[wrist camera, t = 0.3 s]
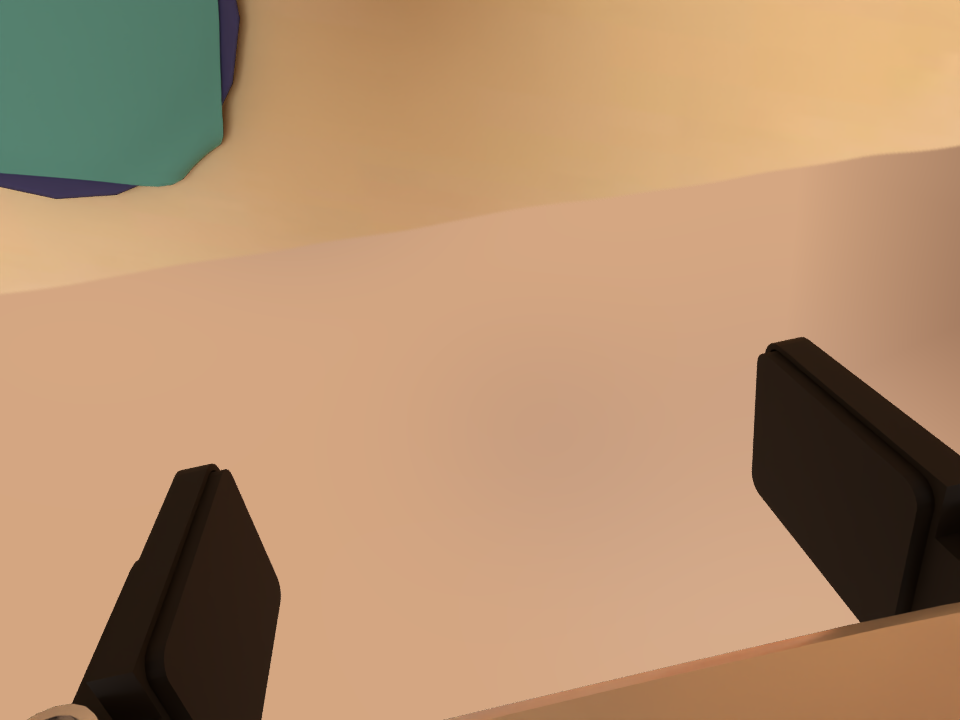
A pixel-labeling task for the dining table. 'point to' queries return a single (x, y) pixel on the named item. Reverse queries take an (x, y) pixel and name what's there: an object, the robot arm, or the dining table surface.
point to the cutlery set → (111, 92)
